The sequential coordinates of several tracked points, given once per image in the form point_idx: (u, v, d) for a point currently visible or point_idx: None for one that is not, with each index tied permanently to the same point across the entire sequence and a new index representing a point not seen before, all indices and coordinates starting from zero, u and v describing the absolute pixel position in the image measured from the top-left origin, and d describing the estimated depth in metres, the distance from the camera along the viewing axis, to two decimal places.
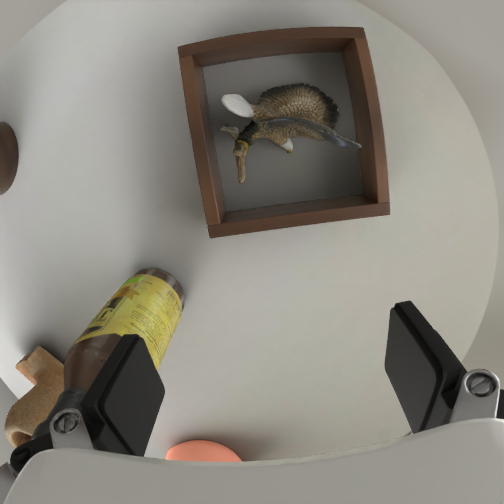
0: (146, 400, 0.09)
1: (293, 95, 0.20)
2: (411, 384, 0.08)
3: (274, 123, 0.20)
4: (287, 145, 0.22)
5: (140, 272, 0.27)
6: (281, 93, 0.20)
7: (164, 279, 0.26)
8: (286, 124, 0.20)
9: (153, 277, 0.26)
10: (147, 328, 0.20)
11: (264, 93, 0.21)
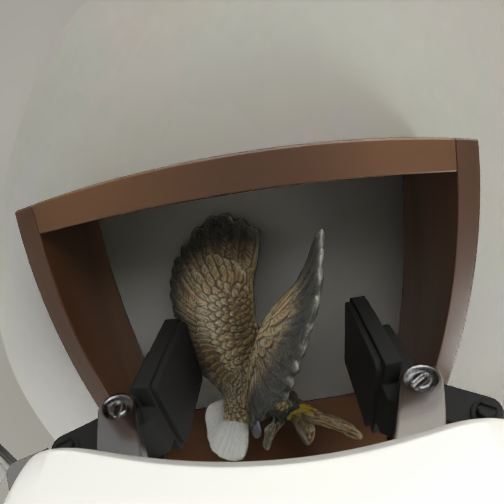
0: (189, 384, 0.10)
1: (197, 334, 0.11)
2: (361, 376, 0.09)
3: None
4: None
5: None
6: (196, 349, 0.11)
7: None
8: None
9: None
10: None
11: None
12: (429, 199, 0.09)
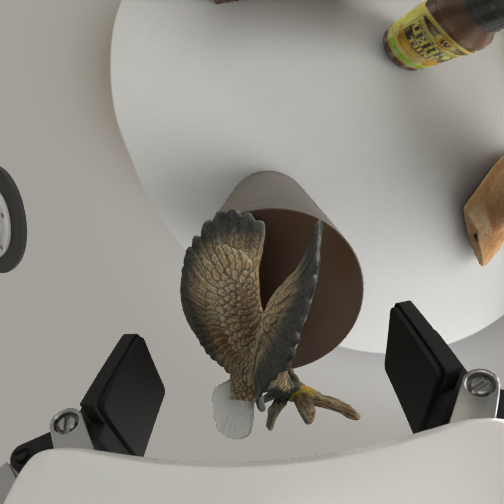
0: (146, 400, 0.09)
1: (207, 317, 0.12)
2: (411, 384, 0.08)
3: None
4: None
5: (387, 47, 0.25)
6: (205, 333, 0.13)
7: None
8: None
9: (389, 31, 0.23)
10: (420, 4, 0.17)
11: (207, 353, 0.13)
12: None
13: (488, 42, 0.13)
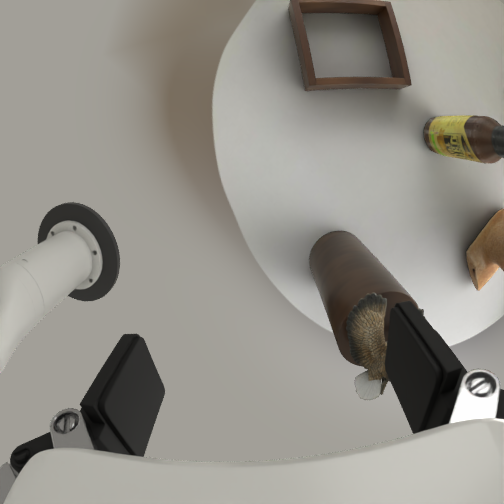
0: (146, 400, 0.09)
1: (362, 344, 0.25)
2: (411, 384, 0.08)
3: None
4: None
5: (426, 138, 0.37)
6: (358, 351, 0.25)
7: (430, 123, 0.36)
8: None
9: (430, 127, 0.35)
10: (459, 118, 0.29)
11: (355, 360, 0.26)
12: (383, 16, 0.30)
13: (500, 158, 0.26)
